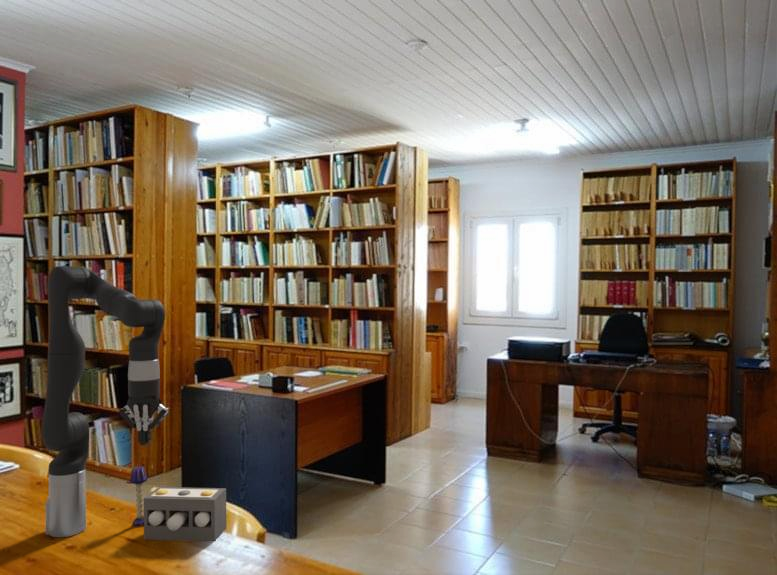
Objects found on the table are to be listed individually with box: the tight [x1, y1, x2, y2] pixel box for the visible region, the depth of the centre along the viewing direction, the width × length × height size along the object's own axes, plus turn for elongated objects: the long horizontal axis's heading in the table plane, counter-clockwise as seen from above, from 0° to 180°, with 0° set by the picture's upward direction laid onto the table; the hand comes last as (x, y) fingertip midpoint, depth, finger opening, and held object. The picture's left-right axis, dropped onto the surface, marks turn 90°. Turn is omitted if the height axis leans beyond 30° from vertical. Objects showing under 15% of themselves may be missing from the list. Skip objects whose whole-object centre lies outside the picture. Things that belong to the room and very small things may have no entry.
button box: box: [143, 486, 227, 542], centre depth 166 cm, size 20×9×12 cm, turn 86°
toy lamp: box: [129, 465, 148, 527], centre depth 173 cm, size 5×5×17 cm
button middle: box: [167, 511, 187, 531], centre depth 162 cm, size 4×6×4 cm, turn 176°
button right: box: [195, 511, 211, 527], centre depth 164 cm, size 4×6×4 cm, turn 176°
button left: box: [149, 510, 166, 526], centre depth 165 cm, size 4×6×4 cm, turn 176°
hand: (144, 444), depth 152 cm, fingers closed
